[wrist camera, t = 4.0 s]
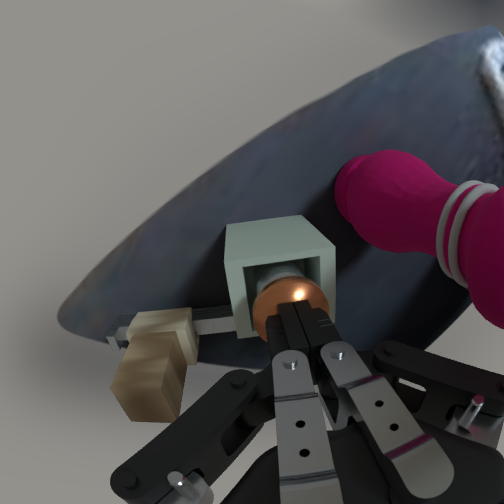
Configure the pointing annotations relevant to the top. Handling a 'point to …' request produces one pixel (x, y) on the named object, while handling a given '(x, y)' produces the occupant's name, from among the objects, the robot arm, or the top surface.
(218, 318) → the rail
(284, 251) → the cabinet
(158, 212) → the top surface
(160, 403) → the carriage
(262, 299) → the plunger
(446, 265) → the pepper mill
